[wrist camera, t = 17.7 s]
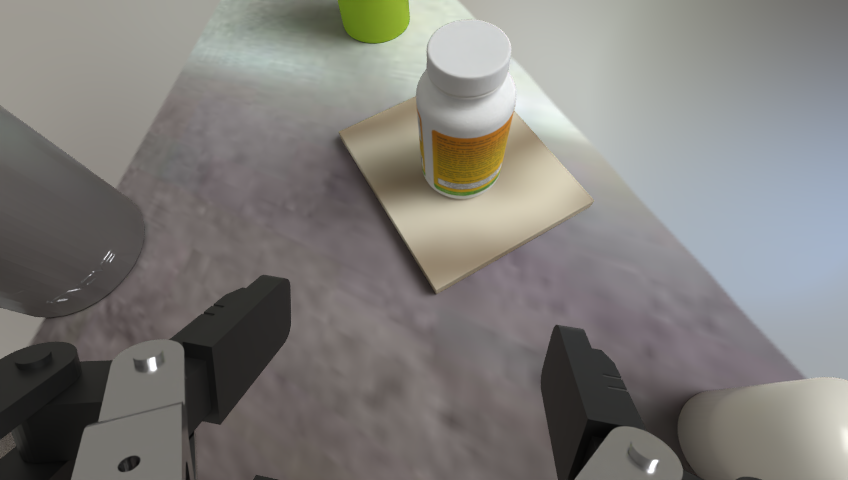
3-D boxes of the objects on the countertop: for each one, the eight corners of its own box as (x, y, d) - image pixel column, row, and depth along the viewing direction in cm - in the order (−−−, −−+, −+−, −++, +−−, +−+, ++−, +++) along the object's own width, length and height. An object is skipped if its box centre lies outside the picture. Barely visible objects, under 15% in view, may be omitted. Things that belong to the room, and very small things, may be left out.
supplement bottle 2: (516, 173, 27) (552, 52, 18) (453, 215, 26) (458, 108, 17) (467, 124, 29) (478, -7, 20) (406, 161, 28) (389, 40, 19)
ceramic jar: (660, 447, 21) (758, 458, 14) (702, 371, 22) (807, 350, 16) (757, 523, 19) (913, 572, 13) (795, 435, 21) (951, 440, 14)
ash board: (341, 138, 30) (338, 131, 29) (476, 76, 32) (476, 68, 31) (436, 294, 25) (436, 290, 24) (590, 206, 27) (594, 200, 26)
